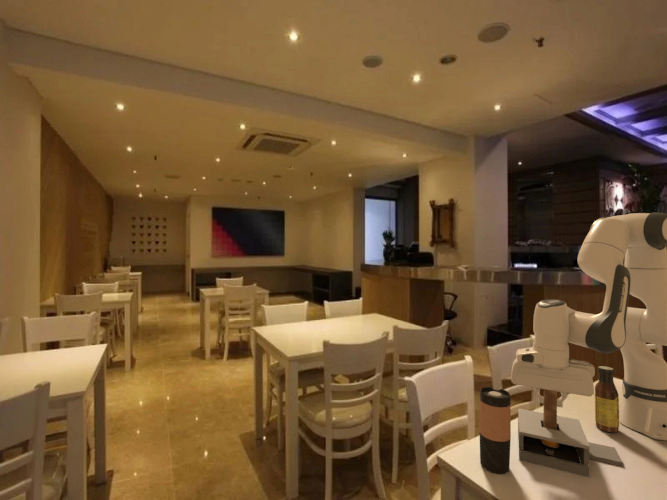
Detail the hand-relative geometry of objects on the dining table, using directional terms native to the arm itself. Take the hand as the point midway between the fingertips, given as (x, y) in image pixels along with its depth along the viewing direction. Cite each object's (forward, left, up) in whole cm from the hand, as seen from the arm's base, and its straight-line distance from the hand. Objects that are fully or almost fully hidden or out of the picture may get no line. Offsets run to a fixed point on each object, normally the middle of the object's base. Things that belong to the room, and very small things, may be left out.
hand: (550, 404), depth 101 cm
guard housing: (0, 0, -14) cm, 14 cm away
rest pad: (-13, -6, -14) cm, 20 cm away
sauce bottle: (-18, -25, -14) cm, 34 cm away
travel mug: (+14, +14, -14) cm, 24 cm away
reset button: (0, 0, -11) cm, 11 cm away
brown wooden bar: (0, 0, -9) cm, 9 cm away
